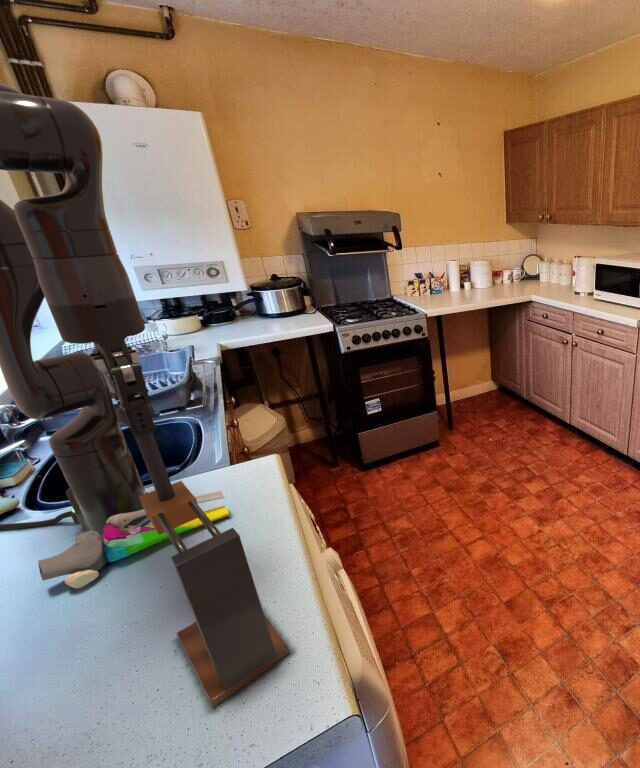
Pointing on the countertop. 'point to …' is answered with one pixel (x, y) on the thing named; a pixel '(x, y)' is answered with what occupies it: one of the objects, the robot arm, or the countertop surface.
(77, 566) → the knee model
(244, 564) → the upright panel stand
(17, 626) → the countertop surface
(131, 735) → the countertop surface
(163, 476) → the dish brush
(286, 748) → the countertop surface
